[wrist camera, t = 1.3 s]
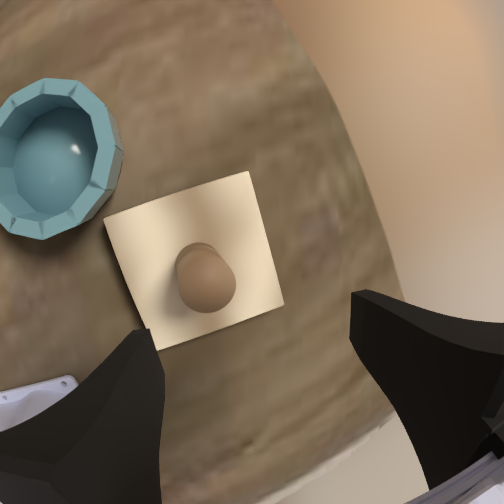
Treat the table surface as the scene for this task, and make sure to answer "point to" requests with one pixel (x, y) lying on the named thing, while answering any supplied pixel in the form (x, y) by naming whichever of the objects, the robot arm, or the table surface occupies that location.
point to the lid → (196, 259)
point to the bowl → (55, 157)
